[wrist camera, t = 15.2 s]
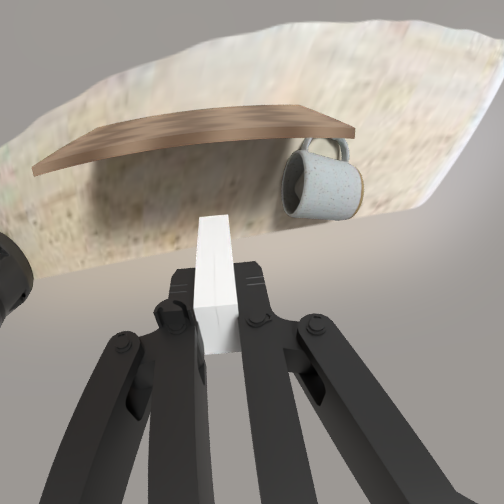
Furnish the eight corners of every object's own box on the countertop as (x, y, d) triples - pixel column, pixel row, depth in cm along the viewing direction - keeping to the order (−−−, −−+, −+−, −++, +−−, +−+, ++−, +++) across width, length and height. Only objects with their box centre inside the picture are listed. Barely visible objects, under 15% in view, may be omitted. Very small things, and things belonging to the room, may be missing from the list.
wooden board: (99, 136, 29) (34, 180, 17) (97, 127, 29) (31, 167, 16) (299, 113, 31) (354, 142, 19) (299, 104, 30) (355, 128, 18)
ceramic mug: (334, 207, 39) (357, 235, 32) (277, 200, 37) (291, 228, 31) (353, 133, 33) (384, 148, 27) (293, 120, 32) (314, 130, 25)
